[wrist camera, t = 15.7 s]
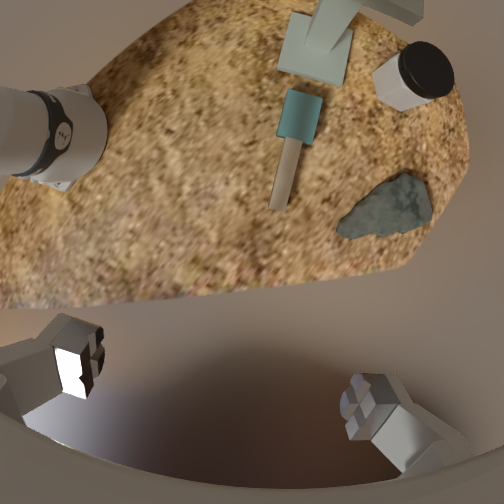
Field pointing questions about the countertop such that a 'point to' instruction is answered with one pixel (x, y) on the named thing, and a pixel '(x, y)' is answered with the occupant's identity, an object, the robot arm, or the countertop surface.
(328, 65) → the shelf stand
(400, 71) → the jar
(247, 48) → the countertop surface
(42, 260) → the countertop surface
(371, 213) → the stone
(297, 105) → the mallet
